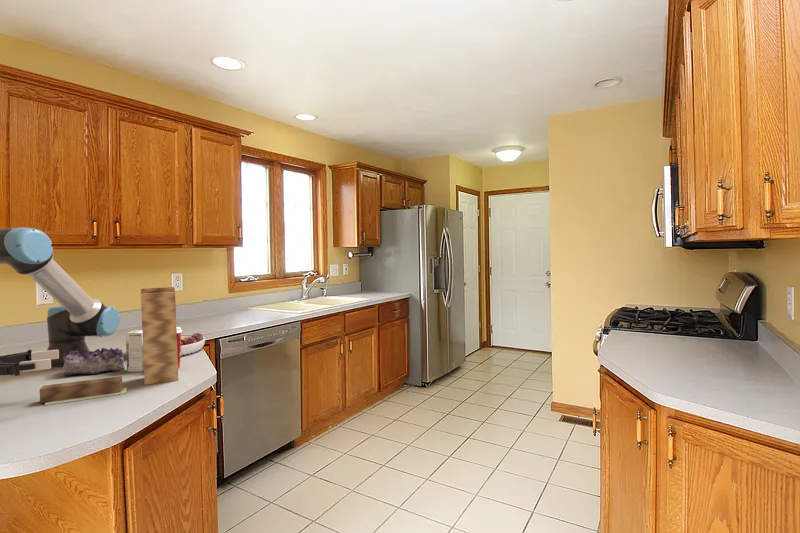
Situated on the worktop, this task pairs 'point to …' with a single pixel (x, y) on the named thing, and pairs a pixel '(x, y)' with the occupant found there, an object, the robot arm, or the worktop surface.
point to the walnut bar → (80, 389)
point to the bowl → (191, 343)
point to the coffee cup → (178, 344)
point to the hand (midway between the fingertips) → (55, 358)
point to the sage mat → (86, 397)
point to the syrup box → (134, 351)
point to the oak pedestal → (159, 335)
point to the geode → (93, 361)
